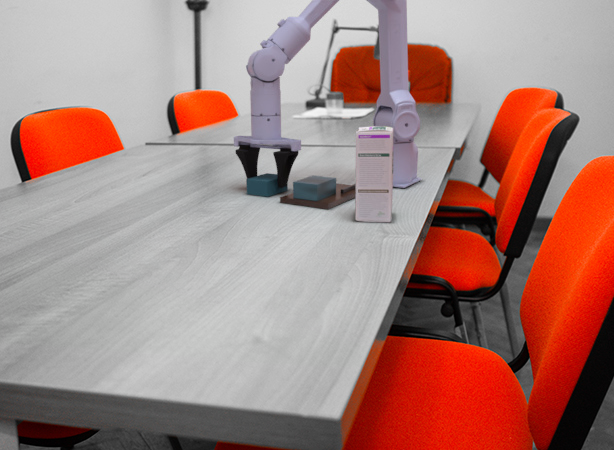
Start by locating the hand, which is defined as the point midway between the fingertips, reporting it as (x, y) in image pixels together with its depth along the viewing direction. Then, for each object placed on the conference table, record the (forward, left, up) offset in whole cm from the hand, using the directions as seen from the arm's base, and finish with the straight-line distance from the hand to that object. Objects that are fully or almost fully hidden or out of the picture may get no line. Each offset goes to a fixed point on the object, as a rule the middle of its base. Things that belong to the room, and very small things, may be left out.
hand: (267, 185), depth 112 cm
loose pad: (0, 0, -1) cm, 1 cm away
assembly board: (-2, +12, -1) cm, 12 cm away
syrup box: (+7, +26, -2) cm, 27 cm away
